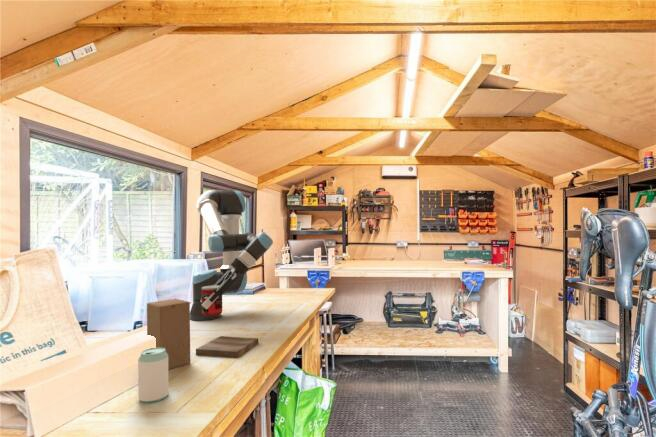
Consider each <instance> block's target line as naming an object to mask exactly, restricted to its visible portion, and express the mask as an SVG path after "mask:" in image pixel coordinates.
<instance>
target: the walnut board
mask: <svg viewBox="0 0 656 437" xmlns="http://www.w3.org/2000/svg"><path fill="white" fill-rule="evenodd" d="M257 345H259V338H258V337H245V336H244V337H243V336H242V337H240V336H223V335H220V336H218V337H216V338H214V339H213V340H211V341H208V342H206V343H205V344H202V345H200V346H199V347H197V348H195V355H196V356H206V357H207V356H209V357H220V358H221V357H222V358H235V359H236V358H239V357H240V356H242V355H245V353H247V352H248V351H250V350H251V349H253V348H254V347H255V346H257Z"/></svg>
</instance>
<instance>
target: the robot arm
mask: <svg viewBox="0 0 656 437" xmlns="http://www.w3.org/2000/svg"><path fill="white" fill-rule="evenodd" d="M196 209H197V212H198V213H199V214H200V215H201V216H202V218H203V220H204V223H205V225H206V228H207V231H208V232H209V236H208V240H207V245H208V250H209V251H210V252H212V253H222V266H221V267H219V268H220V269H219V270H220V271H218V270H217V269H207V270H201V271H197V272H195V273H194V274H193V276H192V306H191V307H190V321H209V320H214V319H218V318H220V317H221V316H222V313H221V314H219V315H214V316H205V315H203V314H202V306H203V307H204V308H205V309H208V308H209V307H210V306H211V304H212V303H213V302H214V301H215V300H216V299H217V298H218V297H219V296H222V297H223V295H227V294H228V295H229V294H239V293H242V292H244V291H245V289H246V287H247V283H248V275H247V274H248V273H247V272H249V269H251V268H252V267H253V266H256V263H257V261H259V260H260V258H262V257H263V255H265V253H266V252H267V251H268V250H269V249H270V248H271V246H273V244H274V241H273V239H272V238H271V237H270V236H269V235H268V234H267V233H265V231H260V232H259V233H258V234H255V233H252V232H249V231H248V232H244V233H240V218H241V217H242V215H243V213H244V212H245V210H246V199H245V196H244V194H243V192H241V191H240V190H235V189H233V190H232V189H229V190H228V189H227V190H226V189H223V190H222V189H210V190H207V191H205V192H204V193H202V194H201V195H200V196H199V198H198V200H197V203H196ZM211 285H220V286H219V287H218V288H217V290H216V291H215V290H214V291H213V293H212V294H211V295H210V296H209V297H208V298H207V299H206V301H205V302H204V303H203V304H202V287H204V286H211Z"/></svg>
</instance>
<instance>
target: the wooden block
mask: <svg viewBox="0 0 656 437" xmlns="http://www.w3.org/2000/svg"><path fill="white" fill-rule="evenodd" d="M190 311H191V303H190V301H187V300H183V299H179V298H178V299H177V298H173V299H171V298H170V299H164V300H160V301H159V300H157V301H152V302H148V303H146V331H147V332H146V336H147V335H151V336H154V337H155V338H156V348H165V349H166V350H165V351H166V353H167V354H168V370H172V369H176V368H178V367H182V366H185V365H189V364H190V363H191V319H190Z"/></svg>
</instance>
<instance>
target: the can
mask: <svg viewBox="0 0 656 437" xmlns="http://www.w3.org/2000/svg"><path fill="white" fill-rule="evenodd" d="M165 350H166V349H165V348H150V349H147V348H146V349H144V350H142V351H141V352H140V356H139V357H138V359H137V362H138V364H137V367H138V368H137V372H138V373H137V374H138V378H137V379H138V380H137V381H138V382H137V383H138V388H137V389H138V390H137V391H138V393H137V394H138V400H139V401H141V402H143V403H148V404H149V403H156V402H159V401H162V400H164V398H165V397H167V396H168V394H169V392H170V391H169V388H170V387H169V386H170V385H169V369H168V354H167V353H166V351H165Z"/></svg>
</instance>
